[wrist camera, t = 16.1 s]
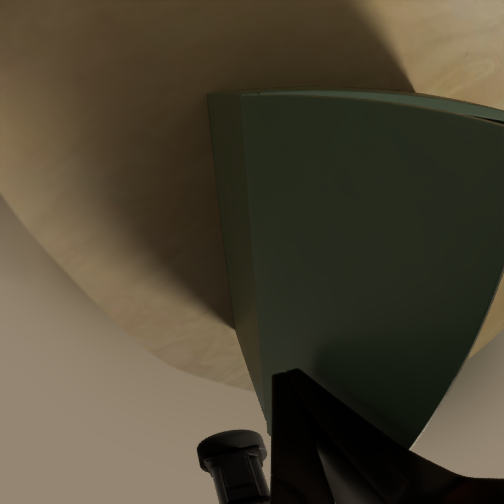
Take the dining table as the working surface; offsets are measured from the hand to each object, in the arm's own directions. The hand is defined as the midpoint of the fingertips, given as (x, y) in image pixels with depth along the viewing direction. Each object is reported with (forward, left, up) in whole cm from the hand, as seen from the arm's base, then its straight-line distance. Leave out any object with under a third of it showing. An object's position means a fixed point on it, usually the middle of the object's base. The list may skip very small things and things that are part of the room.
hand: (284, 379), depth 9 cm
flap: (0, -1, +1) cm, 1 cm away
